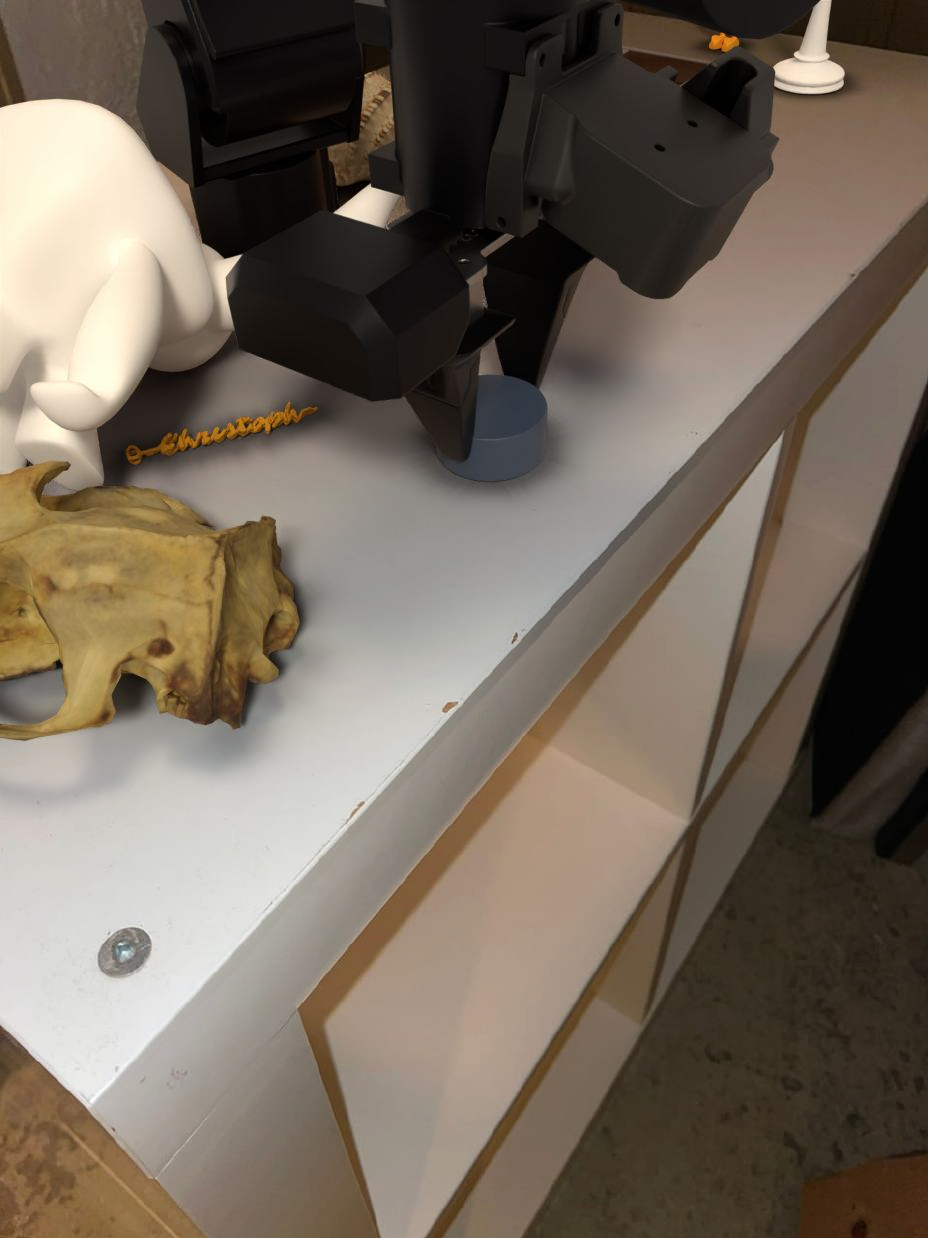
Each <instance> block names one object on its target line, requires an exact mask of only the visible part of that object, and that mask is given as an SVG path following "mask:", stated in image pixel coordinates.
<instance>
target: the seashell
mask: <svg viewBox="0 0 928 1238" xmlns="http://www.w3.org/2000/svg"><path fill="white" fill-rule="evenodd" d="M394 140H395V132H394V119H393V106H392V93H391V81H390V80H387V79H386V74H385V73H382V72H381V71H370V72H368V73H365V78H364V89H363V101H362V112H361V124H360V135H359V140H358V141H355V142H352V143H346V142H344V143H341V144H337V145H334V146H330V147H328V153H329V160H330V161H331V162H332V163H333V164H334V169H335V177H336V185H337V186H338V187H345V186H350V185H354V184H356V183H359V182H364V181H370V171H369V161H368V154H370V153H372V152H374V151H375V150H377V149H379V148H381V147H383V146H385V145H386V144H388V143H390V142H392V141H394Z"/></svg>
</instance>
